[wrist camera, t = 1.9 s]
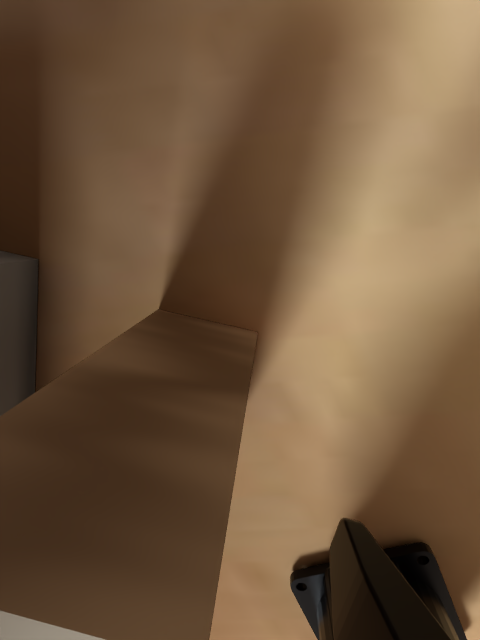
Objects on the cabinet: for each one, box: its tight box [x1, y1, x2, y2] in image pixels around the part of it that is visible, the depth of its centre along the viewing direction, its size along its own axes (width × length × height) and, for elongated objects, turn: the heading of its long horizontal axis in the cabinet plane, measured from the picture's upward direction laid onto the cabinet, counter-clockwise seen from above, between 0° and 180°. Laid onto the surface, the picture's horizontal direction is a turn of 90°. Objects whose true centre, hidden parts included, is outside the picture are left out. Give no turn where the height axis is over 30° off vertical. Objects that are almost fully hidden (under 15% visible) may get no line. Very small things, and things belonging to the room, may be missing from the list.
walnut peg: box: [0, 309, 258, 640], centre depth 8 cm, size 4×4×10 cm
